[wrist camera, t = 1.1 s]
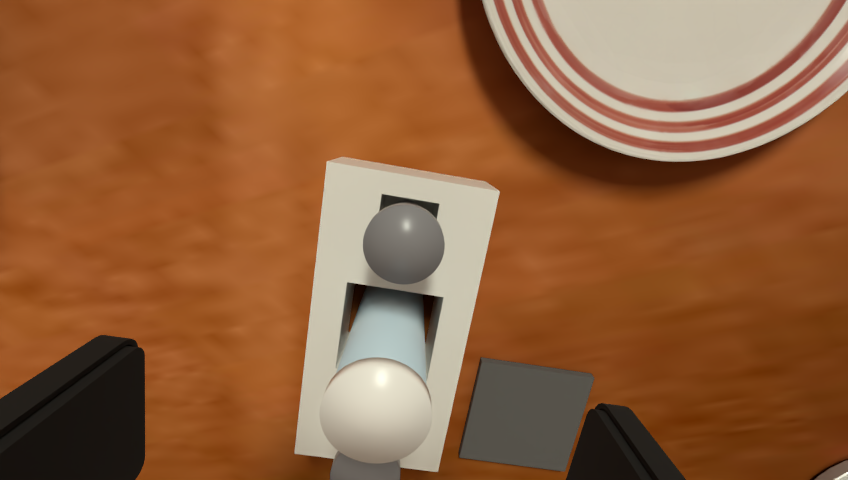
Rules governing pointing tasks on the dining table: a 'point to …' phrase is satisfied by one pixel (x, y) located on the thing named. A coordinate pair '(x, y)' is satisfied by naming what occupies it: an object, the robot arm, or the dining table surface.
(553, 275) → the dining table surface
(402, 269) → the plunger
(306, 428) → the housing
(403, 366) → the cartridge
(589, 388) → the mat
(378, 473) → the plunger
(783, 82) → the dinner plate
